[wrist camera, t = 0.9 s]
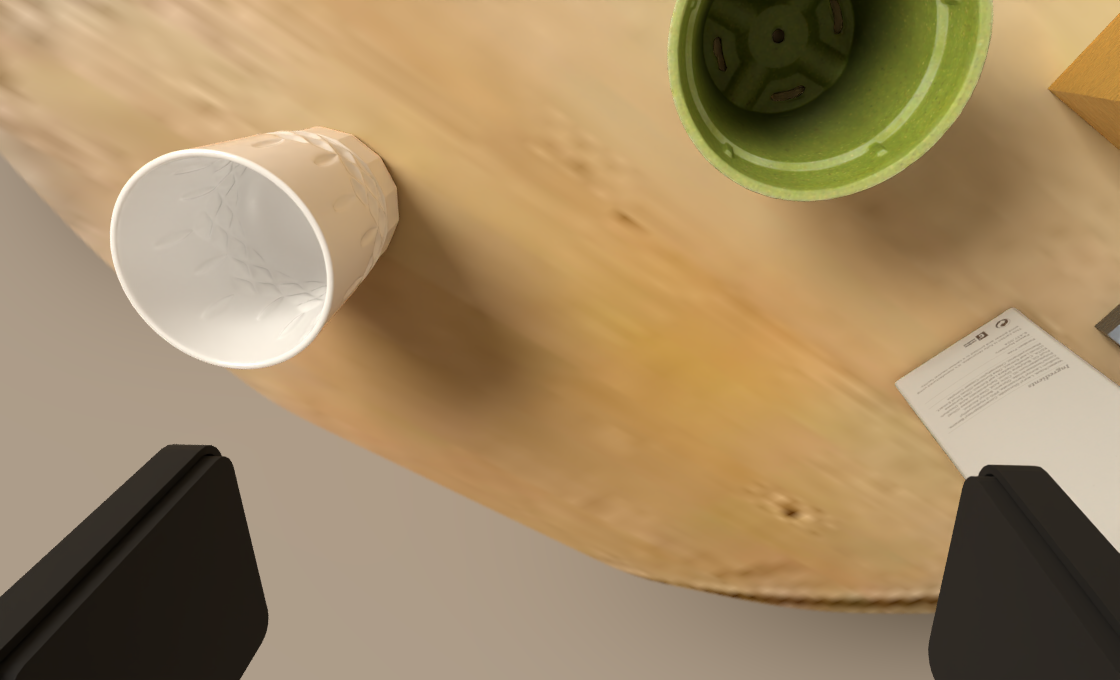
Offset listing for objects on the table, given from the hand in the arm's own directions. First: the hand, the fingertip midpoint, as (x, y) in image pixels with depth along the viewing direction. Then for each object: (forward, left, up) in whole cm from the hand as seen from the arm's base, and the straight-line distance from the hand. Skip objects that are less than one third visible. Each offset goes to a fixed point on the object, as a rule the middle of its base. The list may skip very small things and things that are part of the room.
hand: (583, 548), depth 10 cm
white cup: (+9, -10, -26) cm, 29 cm away
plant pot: (-8, +2, -26) cm, 27 cm away
